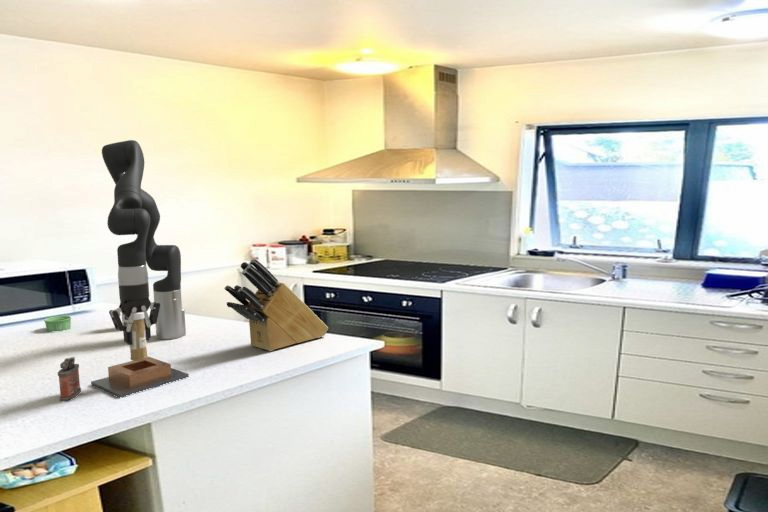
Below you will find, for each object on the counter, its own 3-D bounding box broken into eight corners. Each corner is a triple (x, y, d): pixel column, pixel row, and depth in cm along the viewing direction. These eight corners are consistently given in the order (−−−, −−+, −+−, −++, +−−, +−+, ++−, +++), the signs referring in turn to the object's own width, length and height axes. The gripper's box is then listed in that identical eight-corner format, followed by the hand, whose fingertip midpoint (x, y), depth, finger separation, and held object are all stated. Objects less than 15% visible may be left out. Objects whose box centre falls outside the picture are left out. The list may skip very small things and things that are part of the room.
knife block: (225, 352, 188) (220, 258, 184) (309, 331, 213) (306, 248, 209) (244, 359, 180) (239, 261, 176) (329, 336, 206) (327, 250, 202)
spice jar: (149, 359, 160) (146, 312, 158) (131, 362, 158) (128, 314, 156) (145, 355, 164) (142, 309, 162) (128, 358, 161) (125, 311, 160)
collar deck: (158, 366, 174) (157, 352, 174) (188, 377, 164) (187, 362, 164) (91, 385, 159) (89, 369, 158) (119, 398, 149) (118, 381, 148)
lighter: (71, 390, 155) (68, 354, 153) (84, 390, 155) (81, 354, 154) (56, 402, 147) (53, 364, 145) (70, 401, 147) (67, 363, 146)
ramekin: (56, 326, 226) (55, 315, 226) (77, 326, 225) (76, 315, 224) (39, 332, 218) (38, 320, 217) (61, 332, 216) (60, 321, 216)
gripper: (150, 276, 166) (154, 334, 168) (100, 284, 155) (105, 345, 157) (164, 279, 161) (168, 338, 163) (114, 287, 150) (119, 350, 152)
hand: (137, 342), depth 160 cm, fingers closed on spice jar, 4 cm apart
